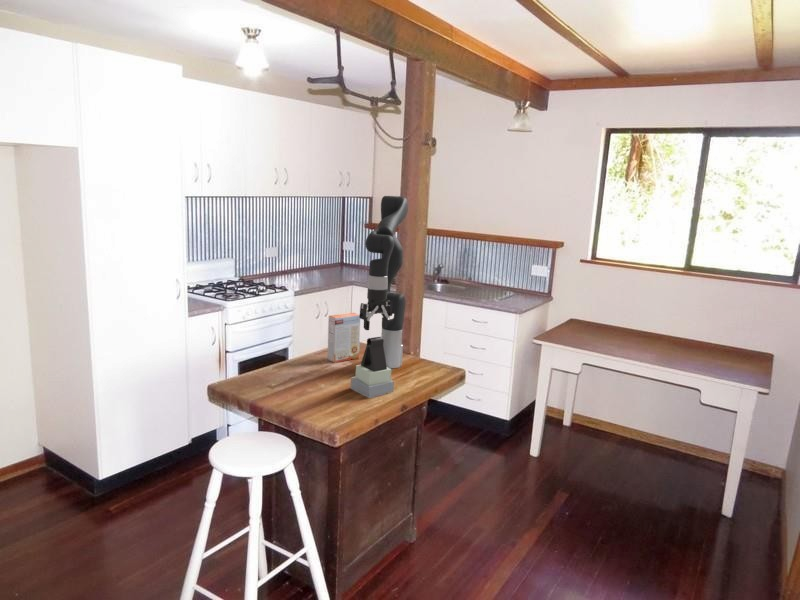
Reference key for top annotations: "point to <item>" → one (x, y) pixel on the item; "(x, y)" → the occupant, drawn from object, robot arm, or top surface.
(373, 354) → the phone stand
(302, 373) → the top surface
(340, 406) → the top surface
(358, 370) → the tower top block
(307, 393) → the top surface
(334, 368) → the top surface
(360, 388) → the tower base slab
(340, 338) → the cracker box
